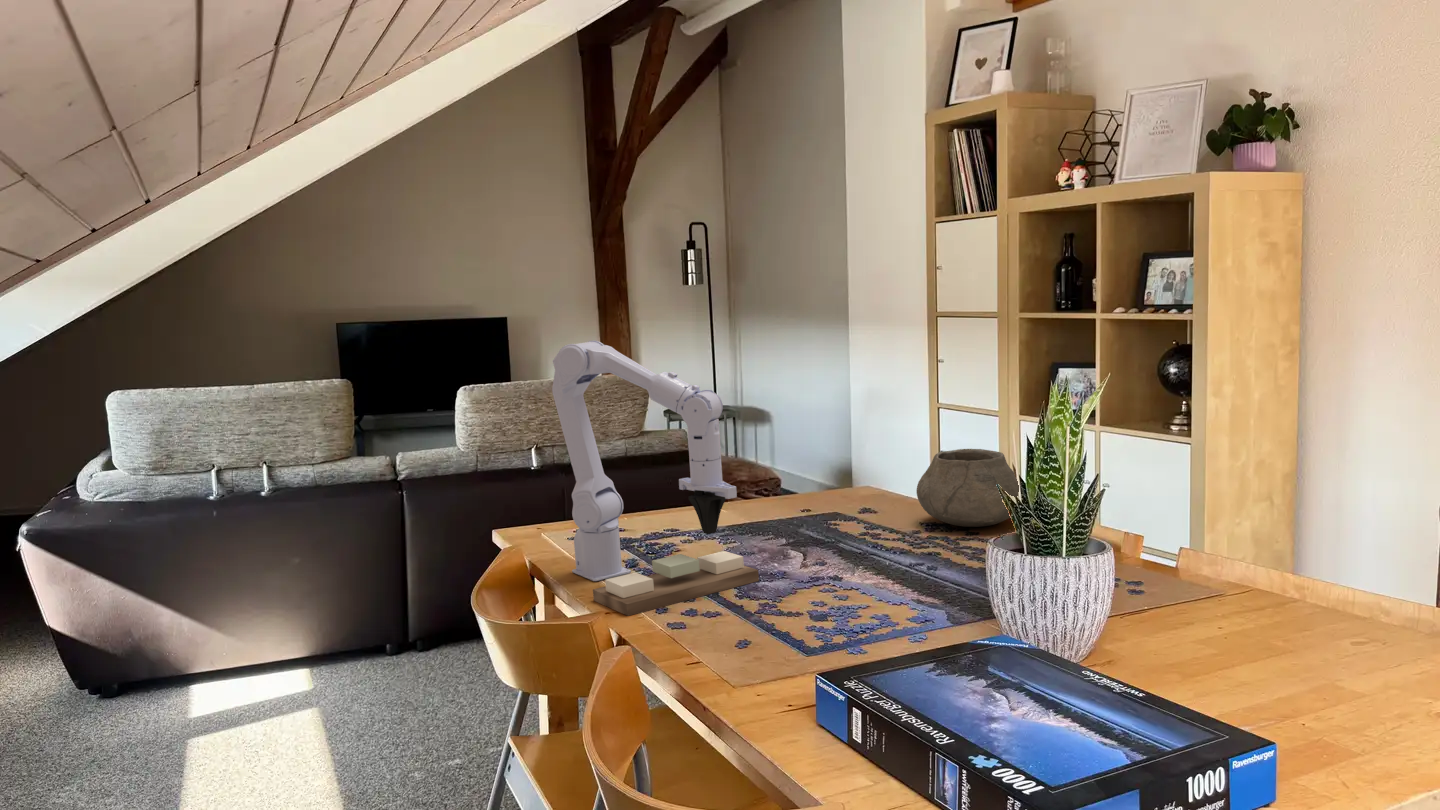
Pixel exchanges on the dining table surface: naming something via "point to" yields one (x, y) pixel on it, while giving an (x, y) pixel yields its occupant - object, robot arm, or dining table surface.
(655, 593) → the board
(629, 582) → the key
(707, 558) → the key
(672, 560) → the key middle
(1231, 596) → the dining table surface
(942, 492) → the clay pot
